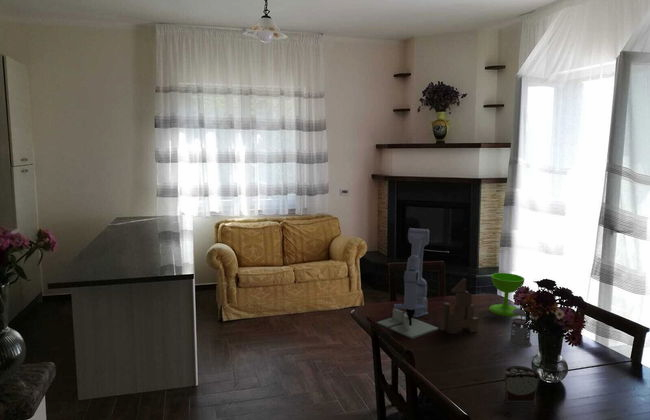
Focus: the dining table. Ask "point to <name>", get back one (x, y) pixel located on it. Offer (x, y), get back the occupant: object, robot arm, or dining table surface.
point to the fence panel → (406, 321)
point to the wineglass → (507, 285)
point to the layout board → (414, 330)
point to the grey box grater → (520, 331)
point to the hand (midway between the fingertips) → (409, 324)
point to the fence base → (398, 315)
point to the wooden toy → (459, 311)
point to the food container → (520, 384)
